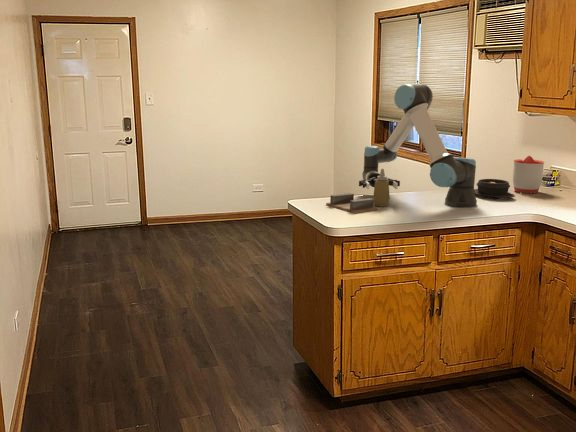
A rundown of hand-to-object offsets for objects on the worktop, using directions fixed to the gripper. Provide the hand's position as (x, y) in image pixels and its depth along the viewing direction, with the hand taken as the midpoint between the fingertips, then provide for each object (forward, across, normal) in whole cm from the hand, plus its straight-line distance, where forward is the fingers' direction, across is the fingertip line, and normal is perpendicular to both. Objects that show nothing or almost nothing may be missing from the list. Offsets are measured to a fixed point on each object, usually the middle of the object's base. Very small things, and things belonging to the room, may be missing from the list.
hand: (382, 186), depth 301 cm
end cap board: (+2, +15, -10) cm, 18 cm away
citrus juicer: (-39, -88, -10) cm, 97 cm away
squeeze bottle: (-3, 0, -10) cm, 11 cm away
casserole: (-24, -64, -10) cm, 69 cm away
